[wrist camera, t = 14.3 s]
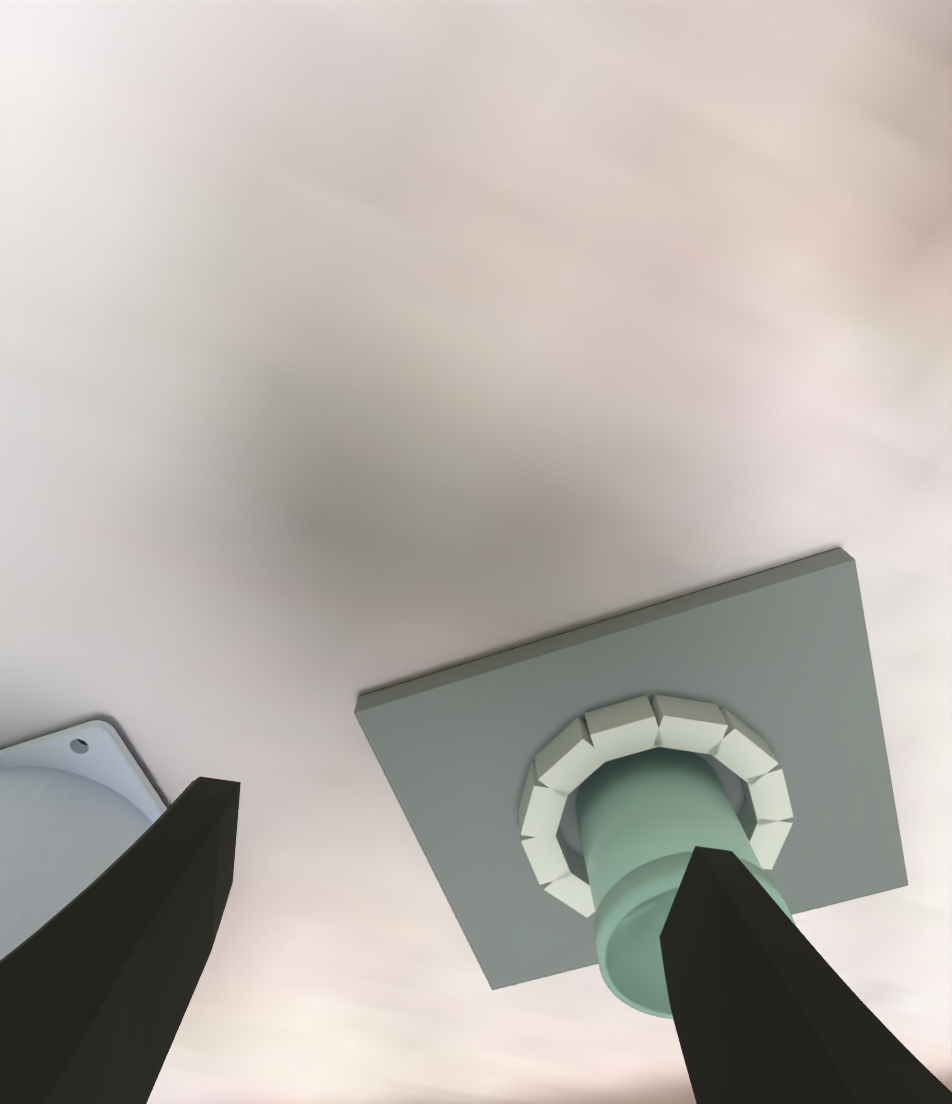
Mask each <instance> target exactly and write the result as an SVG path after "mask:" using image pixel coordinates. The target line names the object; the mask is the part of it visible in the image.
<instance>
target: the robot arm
mask: <svg viewBox="0 0 952 1104" xmlns="http://www.w3.org/2000/svg"><path fill="white" fill-rule="evenodd" d="M77 739H80V740H83V741H85V742H86V743H87V744H88V745H83V744H81V743H80V742H79V741H78V740H77ZM240 783H241V782H235V781H227V780H220V779H213V778H206V777H199V778H197V779H196V780H194V781H192V782H191V784H190V785H189V786H188V787H187V788H186V789H185V790H184V791H183V793H182V794H181V795H180V796H179V797H178V798H177V799H176V800H175V801H174V802H173V803H172V804H171V806H170V807H169V808H168V809H167V808H166V806H165V805H164V803H163V802H162V800H161V799H160V797H159V796H158V794H157V792H156V791H155V789H154V788H153V786H152V785H151V783H150V782H149V780H148V779H147V777H146V776H145V774H144V773H143V771H142V770H141V768H140V767H139V765H138V764H137V762H136V761H135V759H134V757H133V756H132V754H131V753H130V751H129V750H128V748H127V747H126V745H125V744H124V742H123V741H122V739H121V738H120V736H119V735H118V733H117V732H116V730H115V729H114V728H113V727H112V726H111V725H110V724H108V723H107V722H105V721H100V720H94V721H89V722H86V723H83V724H80V725H76V726H73V727H70V728H67V729H64V730H61V731H58V732H55V733H51V734H48V735H45V736H42V737H39V738H36V739H33V740H30V741H26V742H23V743H20V744H17V745H14V746H11V747H8V748H5V749H2V750H0V1104H146V1103H147V1101H148V1098H149V1096H150V1094H151V1091H152V1089H153V1087H154V1084H155V1082H156V1080H157V1077H158V1075H159V1073H160V1070H161V1068H162V1066H163V1063H164V1061H165V1059H166V1056H167V1054H168V1052H169V1049H170V1047H171V1045H172V1042H173V1040H174V1038H175V1035H176V1033H177V1031H178V1028H179V1026H180V1023H181V1021H182V1019H183V1016H184V1014H185V1012H186V1009H187V1007H188V1005H189V1002H190V1000H191V998H192V995H193V993H194V991H195V988H196V986H197V984H198V981H199V979H200V976H201V974H202V972H203V969H204V967H205V965H206V962H207V960H208V957H209V955H210V953H211V950H212V947H213V944H214V941H215V937H216V934H217V931H218V928H219V925H220V922H221V918H222V915H223V912H224V909H225V906H226V902H227V899H228V895H229V892H230V889H231V886H232V882H233V870H234V858H235V845H236V833H237V821H238V808H239V796H240ZM659 938H660V945H661V952H662V959H663V966H664V973H665V979H666V985H667V991H668V997H669V1003H670V1008H671V1012H672V1015H673V1019H674V1023H675V1027H676V1031H677V1034H678V1038H679V1042H680V1045H681V1049H682V1053H683V1056H684V1060H685V1064H686V1067H687V1071H688V1074H689V1078H690V1081H691V1085H692V1089H693V1092H694V1096H695V1099H696V1103H697V1104H952V1092H951V1091H950V1090H949V1089H948V1088H947V1087H946V1086H944V1085H943V1084H942V1083H941V1082H940V1081H939V1080H938V1079H937V1078H936V1077H935V1076H934V1075H933V1074H932V1073H931V1072H930V1071H929V1070H928V1069H927V1068H926V1067H925V1066H924V1065H923V1064H922V1063H921V1062H920V1061H919V1060H918V1059H917V1058H916V1057H915V1056H914V1055H913V1054H912V1053H911V1052H910V1051H909V1050H908V1049H907V1048H906V1047H905V1046H904V1045H903V1044H902V1043H901V1042H900V1041H899V1040H898V1039H897V1038H896V1037H895V1036H894V1035H893V1034H892V1033H891V1032H890V1031H889V1030H888V1029H887V1028H886V1027H885V1025H884V1024H883V1023H882V1022H881V1021H880V1020H879V1019H878V1018H877V1017H876V1016H875V1015H874V1014H873V1013H872V1012H871V1011H870V1010H869V1009H868V1007H867V1006H866V1005H865V1004H864V1003H863V1002H862V1001H861V1000H860V999H859V998H858V997H857V996H856V994H855V993H854V992H853V991H852V990H851V989H850V988H849V987H848V986H847V985H846V983H845V982H844V981H843V980H842V979H841V978H840V977H839V976H838V974H837V973H836V972H835V971H834V970H833V969H832V968H831V967H830V965H829V964H828V963H827V962H826V961H825V960H824V959H823V957H822V956H821V955H820V954H819V953H818V952H817V950H816V949H815V948H814V947H813V946H812V945H811V943H810V942H809V941H808V940H807V939H806V938H805V936H804V935H803V934H802V933H801V932H800V931H799V929H798V928H797V927H796V926H795V925H794V923H793V922H792V921H791V920H790V919H789V918H788V916H787V915H786V914H785V913H784V912H783V910H782V909H781V908H780V907H779V906H778V904H777V903H776V902H775V901H774V900H773V898H772V897H771V896H770V895H769V894H768V892H767V891H766V890H765V889H764V888H763V886H762V885H761V884H760V883H759V882H758V880H757V879H756V878H755V877H754V876H753V875H752V873H751V872H750V871H749V870H748V869H747V868H746V866H745V865H744V864H743V863H742V862H741V861H740V860H739V858H738V857H737V856H736V855H735V854H734V853H733V852H732V851H729V850H722V849H715V848H707V847H700V846H695V848H694V850H693V853H692V855H691V858H690V860H689V863H688V866H687V868H686V871H685V873H684V876H683V878H682V881H681V883H680V886H679V888H678V891H677V894H676V896H675V899H674V901H673V904H672V906H671V909H670V911H669V914H668V916H667V919H666V921H665V924H664V927H663V929H662V932H661V934H660V937H659Z"/></svg>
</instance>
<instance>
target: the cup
mask: <svg viewBox="0 0 952 1104" xmlns="http://www.w3.org/2000/svg"><path fill="white" fill-rule="evenodd" d="M575 807H576V817H577V823H578V828H579V833H580V838H581V843H582V848H583V853H584V858H585V863H586V868H587V874H588V879H589V884H590V889H591V894H592V899H593V904H594V909H595V918H594V924H593V935H594V940H595V946H596V951H597V956H598V962H599V967H600V972H601V974H602V977H603V980H604V981H605V983H606V985H607V986H608V988H609V989H610V990H611V991H612V993H613V994H614V995H615V996H616V997H618V998H619V999H620V1000H621V1001H622V1002H624V1003H625V1004H627V1005H629V1006H630V1007H632V1008H634V1009H636V1010H638V1011H641V1012H643V1013H646V1014H649V1015H653V1016H657V1017H662V1018H669V1019H673V1015H672V1012H671V1008H670V1003H669V997H668V991H667V985H666V979H665V973H664V966H663V959H662V952H661V945H660V938H659V937H660V934H661V932H662V929H663V927H664V924H665V921H666V919H667V916H668V914H669V911H670V909H671V906H672V904H673V901H674V899H675V896H676V894H677V891H678V888H679V886H680V883H681V881H682V878H683V876H684V873H685V871H686V868H687V866H688V863H689V860H690V858H691V855H692V853H693V850H694V848H695V846H700V847H707V848H715V849H722V850H729V851H732V852H733V853H734V854H735V855H736V856H737V857H738V858H739V860H740V861H741V862H742V863H743V864H744V865H745V866H746V868H747V869H748V870H749V871H750V872H751V873H752V875H753V876H754V877H755V878H756V879H757V880H758V882H759V883H760V884H761V885H762V886H763V888H764V889H765V890H766V891H767V892H768V894H769V895H770V896H771V897H772V898H773V900H774V901H775V902H776V903H777V904H778V906H779V907H780V908H781V909H782V910H783V912H784V913H785V914H786V915H787V916H788V918H789V919H790V920H791V921H792V922H793V923H794V925H795V922H794V920H793V918H792V915H791V913H790V911H789V909H788V907H787V905H786V903H785V901H784V899H783V897H782V895H781V893H780V891H779V889H778V887H777V885H776V884H775V882H774V881H773V880H772V879H771V878H770V876H769V875H768V874H767V873H766V872H764V871H763V870H762V868H761V866H760V863H759V861H758V859H757V857H756V855H755V853H754V851H753V849H752V847H751V845H750V842H749V840H748V838H747V836H746V834H745V832H744V830H743V828H742V826H741V824H740V821H739V819H738V817H737V815H736V813H735V811H734V809H733V807H732V805H731V803H730V800H729V798H728V796H727V794H726V792H725V790H724V788H723V786H722V784H721V782H720V779H719V777H718V775H717V773H716V772H715V770H714V769H713V767H712V766H711V765H710V764H709V763H708V762H707V761H706V760H705V759H703V758H702V757H701V756H699V755H697V754H696V753H694V752H691V751H684V750H678V749H671V748H664V747H655V748H652V749H648V750H645V751H641V752H638V753H634V754H631V755H627V756H624V757H620V758H617V759H613V760H610V761H606V762H604V763H603V764H602V765H601V766H600V767H599V768H598V769H597V770H595V771H594V772H593V773H592V774H591V775H590V776H589V777H587V778H586V779H585V780H584V781H583V783H582V785H581V787H580V788H579V791H578V794H577V798H576V804H575ZM795 926H796V925H795Z"/></svg>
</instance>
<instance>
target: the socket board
mask: <svg viewBox="0 0 952 1104" xmlns="http://www.w3.org/2000/svg"><path fill="white" fill-rule="evenodd" d="M354 714H355V716H356V718H357V720H358V722H359V724H360V726H361V728H362V730H363V732H364V734H365V736H366V738H367V740H368V742H369V744H370V746H371V748H372V750H373V752H374V754H375V756H376V758H377V760H378V762H379V764H380V766H381V768H382V770H383V772H384V774H385V776H386V778H387V780H388V782H389V784H390V786H391V788H392V790H393V792H394V794H395V796H396V798H397V800H398V802H399V804H400V806H401V808H402V810H403V812H404V814H405V816H406V818H407V820H408V822H409V824H410V826H411V828H412V830H413V832H414V834H415V836H416V838H417V840H418V842H419V844H420V846H421V848H422V850H423V852H424V854H425V856H426V858H427V860H428V862H429V864H430V866H431V868H432V870H433V872H434V874H435V876H436V878H437V880H438V882H439V884H440V886H441V888H442V890H443V892H444V894H445V896H446V898H447V900H448V902H449V904H450V906H451V908H452V910H453V912H454V914H455V916H456V918H457V920H458V922H459V924H460V926H461V928H462V930H463V932H464V934H465V936H466V938H467V940H468V942H469V944H470V946H471V948H472V950H473V952H474V954H475V956H476V958H477V960H478V962H479V964H480V966H481V968H482V971H483V973H484V975H485V977H486V979H487V981H488V983H489V985H490V987H491V989H492V990H495V989H499V988H503V987H507V986H511V985H515V984H519V983H523V982H527V981H531V980H535V979H539V978H543V977H547V976H551V975H555V974H559V973H563V972H567V971H571V970H575V969H579V968H583V967H587V966H591V965H595V964H599V962H598V956H597V951H596V946H595V940H594V935H593V924H594V918H595V909H594V904H593V899H592V894H591V889H590V884H589V879H588V874H587V868H586V863H585V858H584V853H583V848H582V843H581V838H580V833H579V828H578V823H577V817H576V807H575V804H576V798H577V794H578V791H579V788H580V787H581V785H582V783H583V781H584V780H585V779H586V778H587V777H589V776H590V775H591V774H592V773H593V772H594V771H595V770H597V769H598V768H599V767H600V766H601V765H602V764H603V763H604V762H606V761H610V760H613V759H617V758H620V757H624V756H627V755H631V754H634V753H638V752H641V751H645V750H648V749H652V748H655V747H664V748H671V749H678V750H684V751H691V752H694V753H696V754H697V755H699V756H701V757H702V758H703V759H705V760H706V761H707V762H708V763H709V764H710V765H711V766H712V767H713V769H714V770H715V772H716V773H717V775H718V777H719V779H720V782H721V784H722V786H723V788H724V790H725V792H726V794H727V796H728V798H729V800H730V803H731V805H732V807H733V809H734V811H735V813H736V815H737V817H738V819H739V821H740V824H741V826H742V828H743V830H744V832H745V834H746V836H747V838H748V840H749V842H750V845H751V847H752V849H753V851H754V853H755V855H756V857H757V859H758V861H759V863H760V866H761V868H762V870H763V871H764V872H766V873H767V874H768V875H769V876H770V878H771V879H772V880H773V881H774V882H775V884H776V885H777V887H778V889H779V891H780V893H781V895H782V897H783V899H784V901H785V903H786V905H787V907H788V909H789V911H790V913H791V915H793V914H797V913H801V912H805V911H809V910H813V909H817V908H821V907H824V906H828V905H832V904H836V903H840V902H844V901H848V900H852V899H856V898H860V897H864V896H868V895H872V894H876V893H880V892H884V891H888V890H892V889H896V888H900V887H904V886H908V880H907V874H906V868H905V862H904V856H903V850H902V844H901V837H900V831H899V825H898V819H897V813H896V807H895V801H894V795H893V789H892V783H891V777H890V770H889V764H888V758H887V752H886V746H885V740H884V734H883V728H882V722H881V716H880V710H879V704H878V697H877V691H876V685H875V679H874V673H873V667H872V661H871V655H870V649H869V643H868V637H867V630H866V624H865V618H864V612H863V606H862V600H861V594H860V588H859V582H858V576H857V570H856V563H855V559H854V558H853V557H851V556H850V555H849V554H848V553H846V552H845V551H844V550H843V549H842V548H837V549H834V550H831V551H828V552H824V553H821V554H818V555H815V556H811V557H808V558H805V559H802V560H799V561H795V562H792V563H789V564H786V565H782V566H779V567H776V568H773V569H769V570H766V571H763V572H760V573H757V574H753V575H750V576H747V577H744V578H740V579H737V580H734V581H731V582H727V583H724V584H721V585H718V586H715V587H711V588H708V589H705V590H702V591H698V592H695V593H692V594H689V595H685V596H682V597H679V598H676V599H673V600H669V601H666V602H663V603H660V604H656V605H653V606H650V607H647V608H644V609H640V610H637V611H634V612H631V613H627V614H624V615H621V616H618V617H614V618H611V619H608V620H605V621H602V622H598V623H595V624H592V625H589V626H585V627H582V628H579V629H576V630H572V631H569V632H566V633H563V634H560V635H556V636H553V637H550V638H547V639H543V640H540V641H537V642H534V643H530V644H527V645H524V646H521V647H518V648H514V649H511V650H508V651H505V652H501V653H498V654H495V655H492V656H488V657H485V658H482V659H479V660H476V661H472V662H469V663H466V664H463V665H459V666H456V667H453V668H450V669H446V670H443V671H440V672H437V673H434V674H430V675H427V676H424V677H421V678H417V679H414V680H411V681H408V682H404V683H401V684H398V685H395V686H392V687H388V688H385V689H382V690H379V691H375V692H372V693H369V694H366V695H362V696H359V697H358V699H357V704H356V708H355V712H354Z"/></svg>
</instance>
